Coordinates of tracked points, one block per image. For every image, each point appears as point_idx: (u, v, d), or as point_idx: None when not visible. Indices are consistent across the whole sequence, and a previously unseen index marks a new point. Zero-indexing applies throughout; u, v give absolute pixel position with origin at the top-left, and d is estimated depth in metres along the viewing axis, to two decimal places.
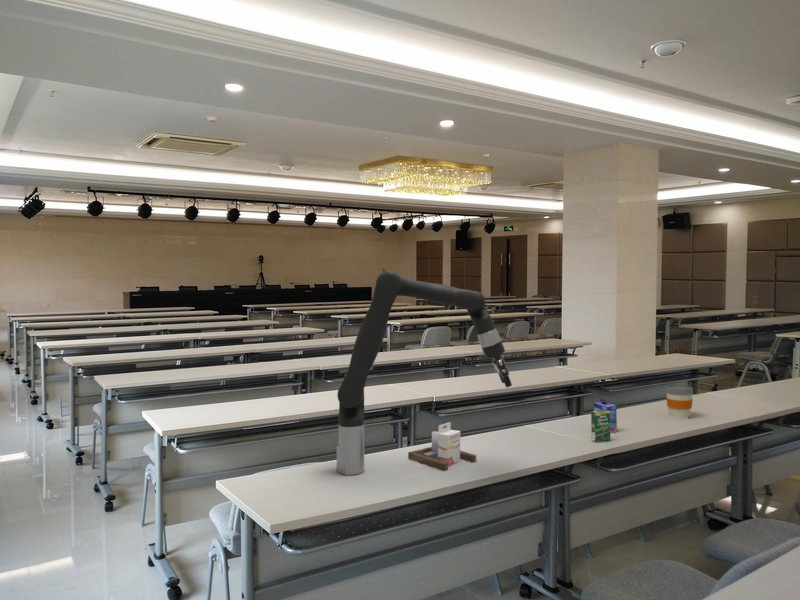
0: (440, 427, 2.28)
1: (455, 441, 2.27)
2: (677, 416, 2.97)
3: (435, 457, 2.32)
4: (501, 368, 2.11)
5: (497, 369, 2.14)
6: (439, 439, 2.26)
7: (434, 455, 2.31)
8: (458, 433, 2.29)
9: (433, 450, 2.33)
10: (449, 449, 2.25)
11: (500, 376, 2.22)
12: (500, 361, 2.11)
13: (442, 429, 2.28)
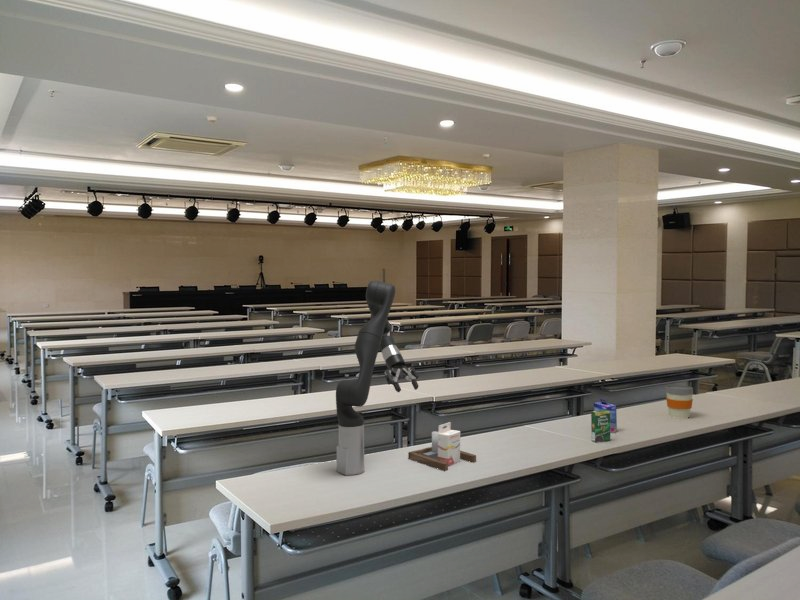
0: (440, 427, 2.28)
1: (455, 441, 2.27)
2: (677, 416, 2.97)
3: (435, 457, 2.32)
4: None
5: (410, 372, 2.52)
6: (439, 439, 2.26)
7: (434, 455, 2.31)
8: (458, 433, 2.29)
9: (433, 450, 2.33)
10: (449, 449, 2.25)
11: None
12: None
13: (442, 429, 2.28)
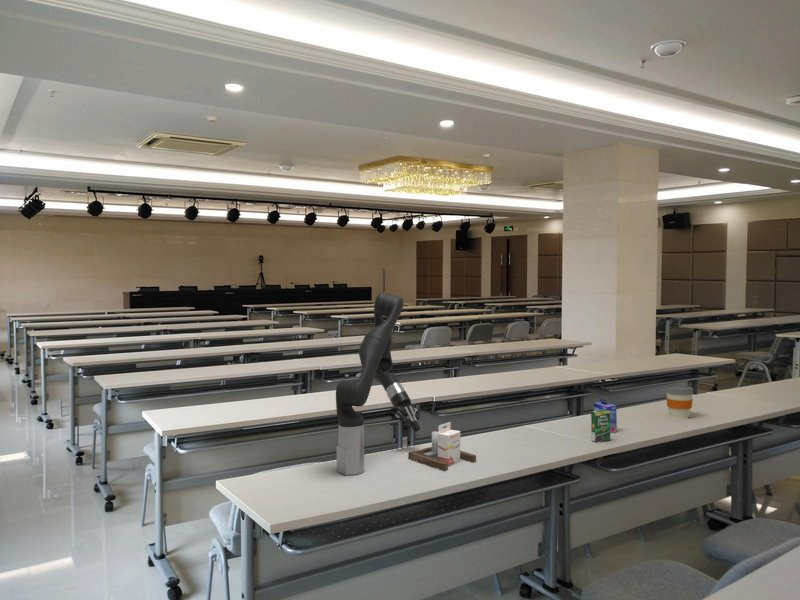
0: (440, 427, 2.28)
1: (455, 441, 2.27)
2: (677, 416, 2.97)
3: (435, 457, 2.32)
4: None
5: (414, 413, 2.46)
6: (439, 439, 2.26)
7: (434, 455, 2.31)
8: (458, 433, 2.29)
9: (433, 450, 2.33)
10: (449, 449, 2.25)
11: None
12: None
13: (442, 429, 2.28)
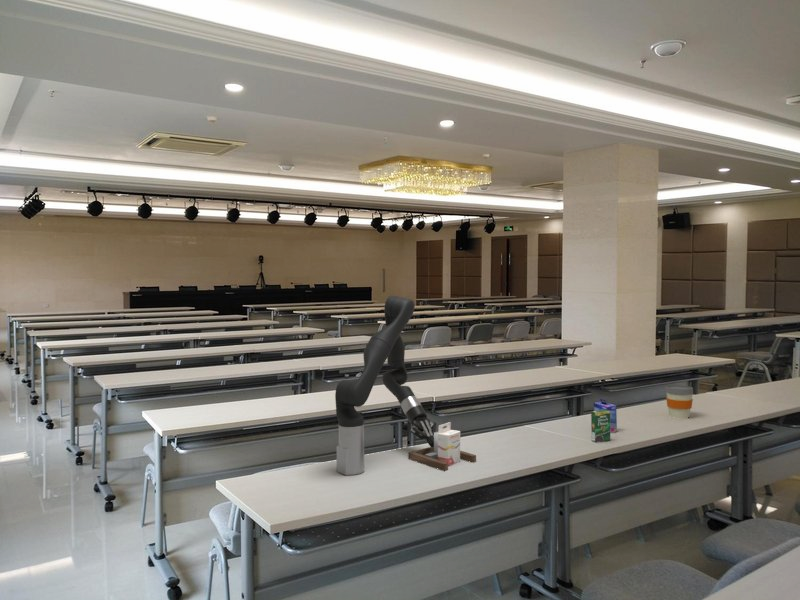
0: (440, 427, 2.28)
1: (455, 441, 2.27)
2: (677, 416, 2.97)
3: (437, 458, 2.31)
4: None
5: (430, 427, 2.39)
6: (439, 439, 2.26)
7: (436, 456, 2.30)
8: (458, 433, 2.29)
9: (435, 451, 2.32)
10: (449, 449, 2.25)
11: None
12: None
13: (442, 429, 2.28)
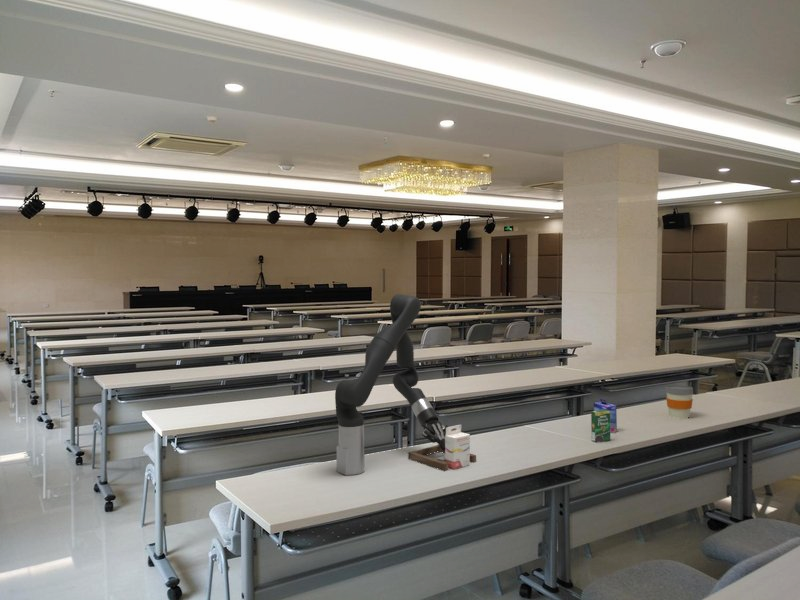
0: (448, 429, 2.24)
1: (462, 444, 2.23)
2: (677, 416, 2.97)
3: None
4: None
5: (442, 431, 2.34)
6: (446, 441, 2.23)
7: None
8: (467, 436, 2.24)
9: None
10: (455, 452, 2.21)
11: None
12: None
13: (450, 432, 2.25)
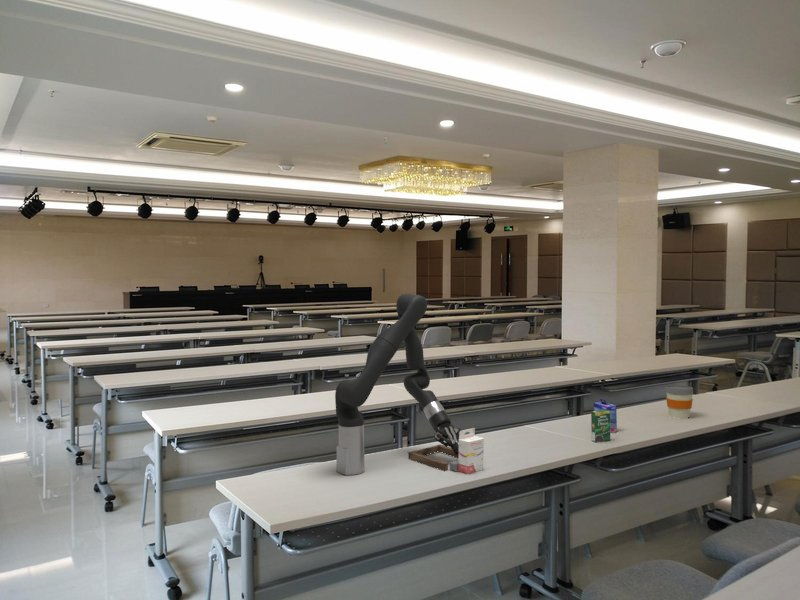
0: (462, 433, 2.19)
1: (476, 448, 2.17)
2: (677, 416, 2.97)
3: None
4: None
5: (455, 434, 2.28)
6: (460, 445, 2.17)
7: None
8: (481, 440, 2.19)
9: None
10: (469, 456, 2.15)
11: None
12: None
13: (464, 435, 2.19)
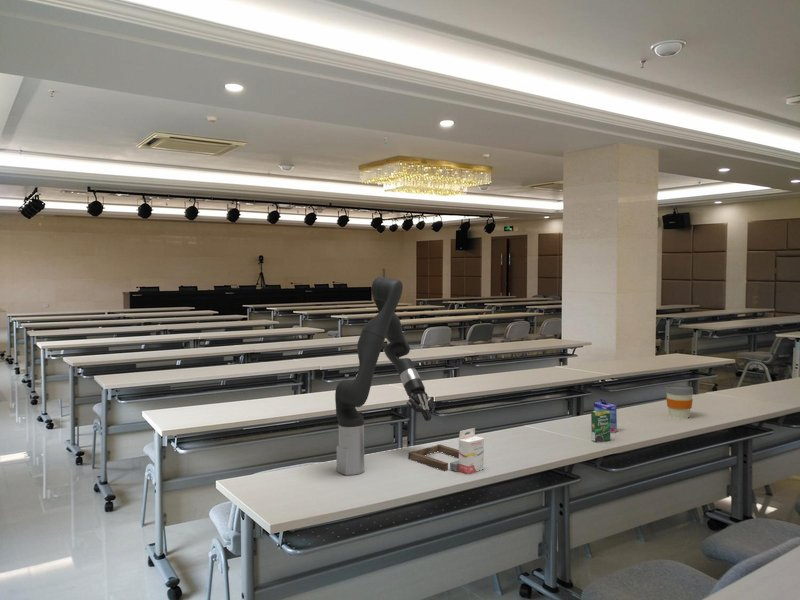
0: (462, 433, 2.19)
1: (476, 448, 2.17)
2: (677, 416, 2.97)
3: None
4: None
5: (427, 401, 2.37)
6: (460, 445, 2.17)
7: None
8: (481, 440, 2.19)
9: None
10: (469, 456, 2.15)
11: None
12: None
13: (464, 435, 2.19)
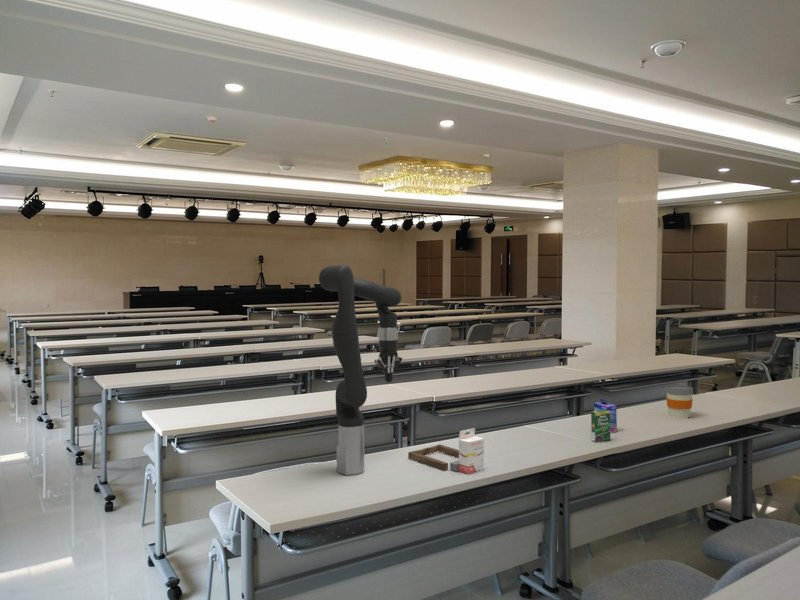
0: (462, 433, 2.19)
1: (476, 448, 2.17)
2: (677, 416, 2.97)
3: None
4: None
5: (394, 364, 2.39)
6: (460, 445, 2.17)
7: None
8: (481, 440, 2.19)
9: None
10: (469, 456, 2.15)
11: None
12: None
13: (464, 435, 2.19)
